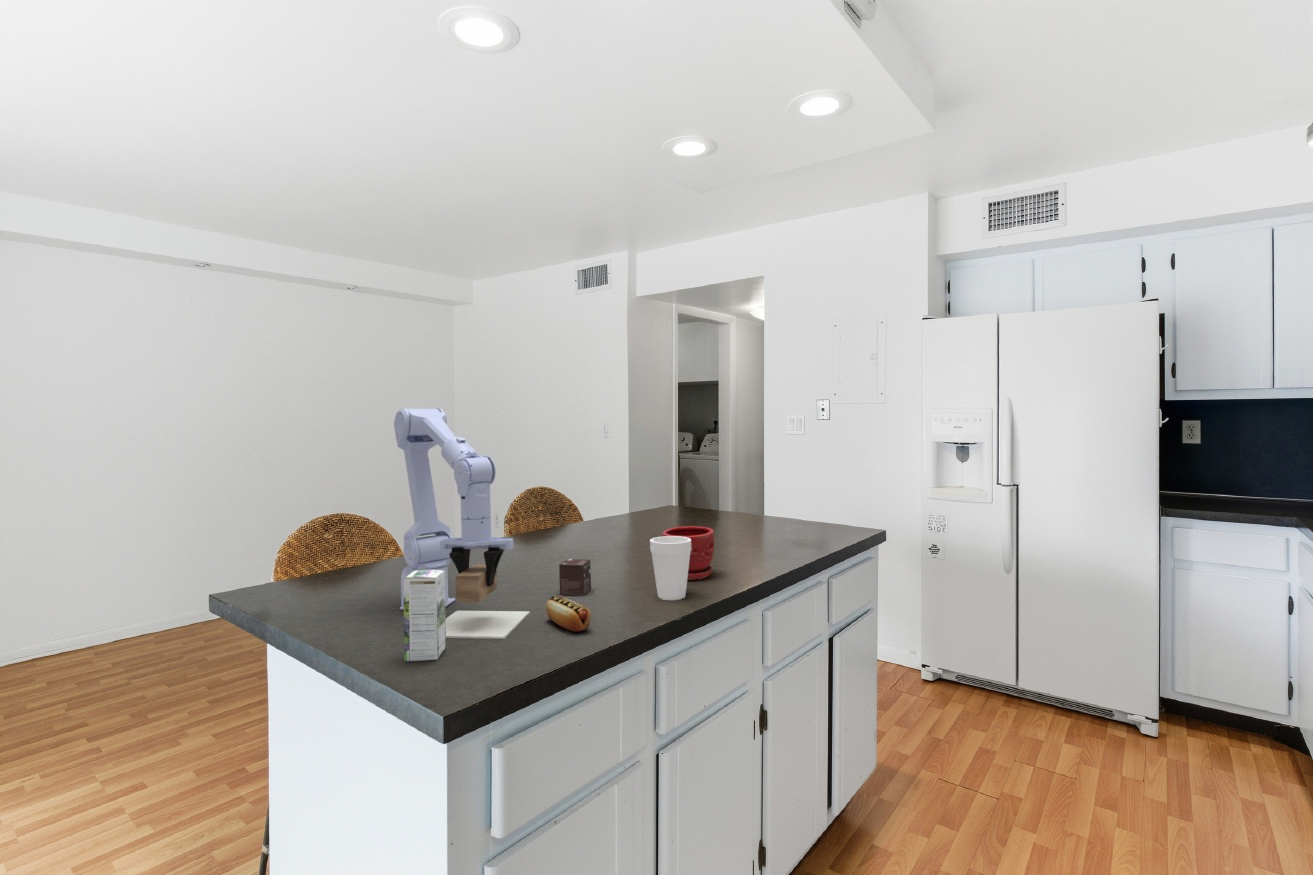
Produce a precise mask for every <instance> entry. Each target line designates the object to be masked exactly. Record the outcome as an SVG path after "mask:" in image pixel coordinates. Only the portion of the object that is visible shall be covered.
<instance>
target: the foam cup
mask: <svg viewBox="0 0 1313 875" xmlns="http://www.w3.org/2000/svg"><path fill="white" fill-rule="evenodd" d="M649 550H650V553H651V557H652V558H651V559H652V566H653V571H654V580H655V585H656V593H657V594H656V595H657V598H658V597H659V598H658V599H660V598H661V599H660V600H664V601H678V600H682V598H683V599H684V598H686V594H687V584H688V580H687V578H688V569H689V559H690V551H691V539H690V538H687V537H680V536H664V537H663V536H657V537H656V536H655V537H652V538H650V539H649Z"/></svg>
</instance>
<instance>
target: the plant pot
mask: <svg viewBox="0 0 1313 875" xmlns="http://www.w3.org/2000/svg"><path fill="white" fill-rule="evenodd" d="M664 536H680V537H687V538H690V539H691V551H690V559H689V569H688V578H687V581H693V580H695V581H696V579H697V580H703V579H704V578H708V577H709V576H710V575H711V574H712V573H713V567H712V566H710V565H711V563H712V560H713V556H714V550H715V532H714V530H713V529H712V528H710V527H706V526H695V525H693V526H691V525H690V526H688V525H687V526H676V527H671V528H668V529H666V530H664V531H663V532H662V537H664Z"/></svg>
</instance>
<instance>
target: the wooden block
mask: <svg viewBox="0 0 1313 875" xmlns="http://www.w3.org/2000/svg"><path fill="white" fill-rule="evenodd" d="M497 572H498V571H497V569H496V573H495V578H494V584H493V585H492V586H487V582H486V564H485V563H479V564H478V563H477V564H476V563H475V564H474V565H472V566H469V568H468V569H467V570H465V571H463V572H462V573H460V574H459V573H458V574H457V575H455V596H456V597H455V601H456V603H479V602H481V601H482V600H484V599H485V598H486V597H487V596H489V595H490V594H492V593H493V592H494V591H495V590H497V589H498V576H497Z"/></svg>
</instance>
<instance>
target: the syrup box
mask: <svg viewBox="0 0 1313 875" xmlns="http://www.w3.org/2000/svg"><path fill="white" fill-rule="evenodd" d="M403 590H404V610H403V644H404V645H403V651H404V652H403V653H404V654H403V655H404V657H403V661H404V662H420V661H421V662H422V661H438V660H439V658H440V657H441V655H442V654H443V652H444V651H445V650H446V648H447V642H446V639H447V638H446V628H445V619H446V607H445V571H443V570H418V571H413V572H412V573H411V574H409V575H408V576H407V577H406V578H404V580H403Z"/></svg>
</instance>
